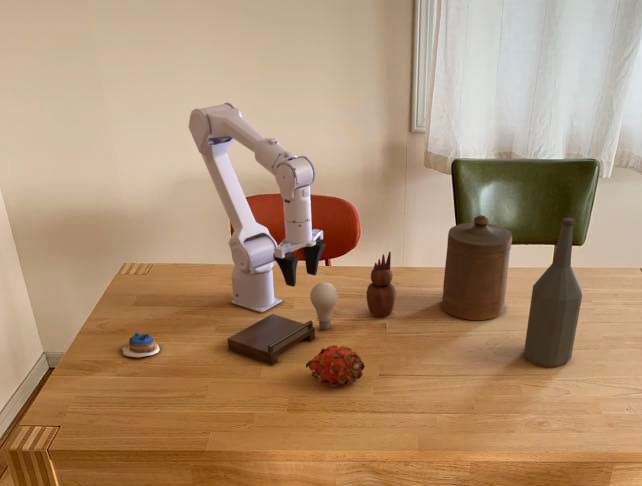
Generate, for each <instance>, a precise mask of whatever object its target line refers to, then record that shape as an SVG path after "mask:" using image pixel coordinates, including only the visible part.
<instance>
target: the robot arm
mask: <svg viewBox="0 0 642 486" xmlns="http://www.w3.org/2000/svg"><path fill="white" fill-rule="evenodd" d="M188 129H189V132H190V135H191V137H192V139H193V141H194V143H195V147H196V148H197V150H198V152H199V154H200V155H201V157H202V160H203V163H204V164H205V166H206V169H207V171H208V174H209V176H210V178H211V181H212V183H213V185H214V188H215V190H216V192H217V194H218V197H219V199H220V202H221V203H222V206H223V208H224V211H225V213H226V215H227V218H228V220H229V222H230V225H231V227H232V229H233V233H232V235H231V237H230V239H229V240H228V243H227V244H228V246H229V249H230V253H231V259H232V261H233V264H234V265H235V266H234V267H233V269H232V273H231V286H232V287H231V288H232V295H233V300H231V304H234V305H236V306H239V307H243V308H245V309H248V310H252V311H255V312H258V313H264V312H266V311H267V310H269V309H271V308H273V307H275V306H277V305H279V304H281V303H282V302H283V299H281V298H279V297H276V296H275V289H274V287H275V286H274V275H273V267H275V262H276V263H277V265H278V267H279V269H280V271H281V273H282V276H283V279H284V282H285V285H286V286H288V287H293V288H295V287H296V284H297V283H296V282H297V267H298V263H299V260H300V257H298V256H295V255H294V254H293V253H294V252H295V251H298V250H299V249H302V251H303V256H304V262H305V270H306V273H307V275H311V276H316V275H317V272H318V267H319V263H320V260H321V256H322V254H323V251H324V250H325V248H326V242H324V241H322V240H324V231H323V229H320V228H319V229H318V228H314V229H313V225H312V224H313V223H312V204H311V203H312V201H311V185H313V184H314V182H315V180H316V168H315V167H314V164H313V162H312V161H311V159H309V158H308V156H306V155H298V154H297V155H295V154H294V153H293V152H292V151H289V150H288V149H287V148H285V147H284V146H283V145H281V144H280V143H279V140H278V139H276V138H275V137H266V138H265V137H263V136H262V135H261V134H260V133H259V132H257V131H256V129H254V127H252V126H251V125H250V124H249V123H248V122H247V121H246V120H245V119H243V116H242V113H241V110H240V109H239V108H237V107H236V106H235V105H234V104H233V103H231V102H224V103H223V104H217V105H212V106H207V107H203V108H194V109H193V110H191V112H190V115H189V120H188ZM235 141H236V142H238V143H239V144H241V145H242V146H243V147H245V148H246V149H248V150H250V151H251V152H253V153H254V159H255V161H256V162H257V163H258V164H259V165H260V166H261V167H263V168H264V169H265V170H267V172H269V173H270V174H271V175H273V176H274V179H275V182H276V184H277V186H278V188H279V193H280V196H281V199H282V204H283V218H284V220H283V221H284V233H285V234H284V235H285V238H284V239H282V241H281V242H279V243H278V242H276V239H274V237H273V236H272V235H271V233H270V231H269V229H268V228H267V227H266V226H265V225H262V224H260V223H258V222H257V221H256V218H255V217H254V214H253V212H252V210H251V207H250V205H249V203H248V200H247V198H246V195H245V193H244V191H243V189H242V186H241V184H240V181H239V179H238V177H237V174H236V172H235V170H234V168H233V165H232V162H231V160H230V158H229V154H228V152H229V149H230V148H231V147H232V146H233V143H234V142H235Z"/></svg>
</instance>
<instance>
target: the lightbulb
mask: <svg viewBox="0 0 642 486" xmlns="http://www.w3.org/2000/svg"><path fill="white" fill-rule="evenodd" d="M309 299H310V302H311V304H312V306H313V308H314V309H315V311H316V315H317V319H318V325H319V328H320V329H322V330H324V331H326V330H327V331H328V329H330V328H331V327H332V325H331V323H332V318H333V311H334V309H335V307H336V305H337V303H338V300H339V294H338V291H337V289H336V287H335V286H334V285H332V284H331V283H329V282H325V281H324V282H319V283H317V284H315V285H314V286H313V287H312V288H311V291H310V295H309Z"/></svg>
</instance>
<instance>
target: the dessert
mask: <svg viewBox="0 0 642 486" xmlns="http://www.w3.org/2000/svg"><path fill="white" fill-rule="evenodd" d="M121 350H122V355H124V357H125V356H126V357H132V358H143V357H147V356H153V355H155V354H158V353H159V351H160V347H159V345H158V343H157V342H155V340H154V337H153V336H151V335H150V334H149V333H139V332H135V333H134V335H132V336H131V337H130V338H129V340H128V343H126V344H124V346H123V347H122V349H121Z"/></svg>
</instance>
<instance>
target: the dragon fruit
mask: <svg viewBox="0 0 642 486" xmlns="http://www.w3.org/2000/svg"><path fill="white" fill-rule="evenodd" d="M307 368H309V370H310V371H312V372H311V376H312V377H314V378H315V379H316V380H318V382H319V383H320V382H321V381H327V382H329V385H330V387H332V388H334V387H338V386H339V384H342V386H346V385H348V384H350V383H351V382H352V383H355V382H357V380H359V379H361V378H362V377H363V375H364V373H363V371H364V369H365V364H364V361H363V360H362V358H361V356H360V355H359V354H358V353H357V352H356V351H353V350H352V349H351V348H350V347H348V346H347V345H341V346H340V347H339V346H338V345H328V346H327V347H326V348H321V349H320V351H319V353H318V354H317V355H314V356H313V357H312V358H311V359H309V360H308V361H307V363H306V364H305V369H307Z"/></svg>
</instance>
